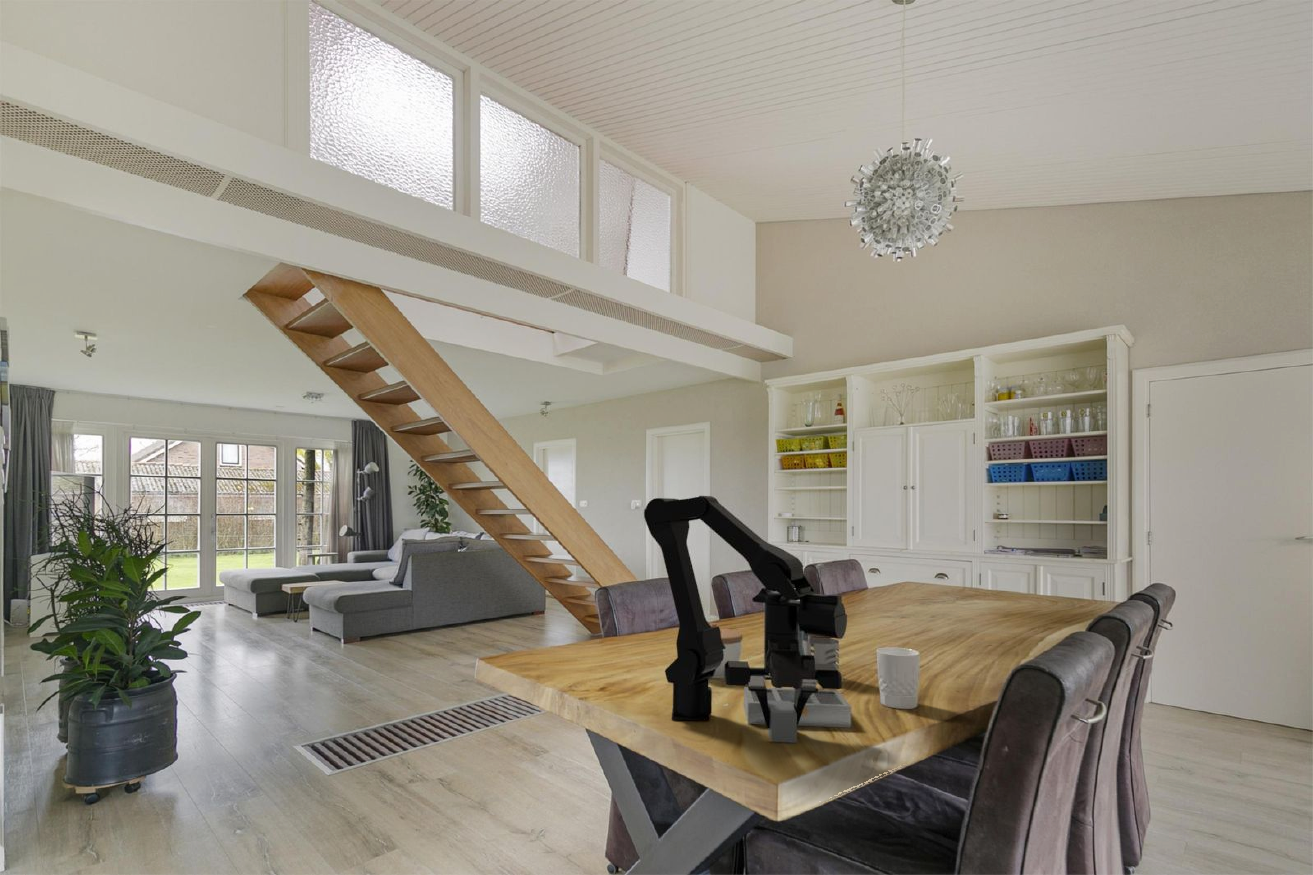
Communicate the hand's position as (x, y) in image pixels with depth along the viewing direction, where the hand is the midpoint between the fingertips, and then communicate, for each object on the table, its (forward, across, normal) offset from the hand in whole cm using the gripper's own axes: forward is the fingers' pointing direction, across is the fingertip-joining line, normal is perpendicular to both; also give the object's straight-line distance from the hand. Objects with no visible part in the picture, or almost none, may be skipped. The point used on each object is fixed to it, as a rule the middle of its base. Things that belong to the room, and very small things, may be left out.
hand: (781, 728), depth 114 cm
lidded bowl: (+1, -10, +40) cm, 41 cm away
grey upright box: (+1, 0, 0) cm, 1 cm away
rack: (+1, +4, +11) cm, 12 cm away
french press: (+1, +13, +39) cm, 41 cm away
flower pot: (+1, +8, +50) cm, 51 cm away
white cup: (+1, +25, +21) cm, 33 cm away
